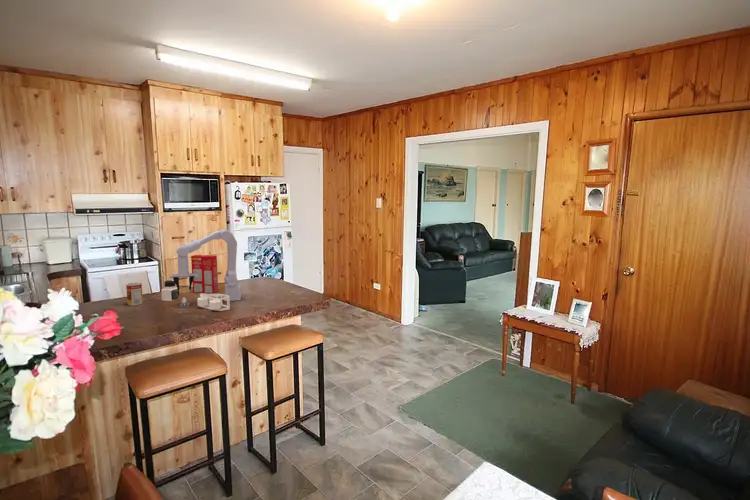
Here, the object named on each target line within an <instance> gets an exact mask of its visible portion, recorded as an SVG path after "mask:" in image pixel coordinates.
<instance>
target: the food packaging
mask: <svg viewBox="0 0 750 500" xmlns="http://www.w3.org/2000/svg"><path fill="white" fill-rule="evenodd" d="M190 260H191V273H197V277H194V279H193V282H192V293H193V294H202V293H204V294H218V292H219V281H218V279H219V278H218V277H219V276H218V256H217V254H215V255H213V254H211V255H210V254H193V255H190Z"/></svg>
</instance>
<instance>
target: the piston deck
mask: <svg viewBox="0 0 750 500" xmlns="http://www.w3.org/2000/svg"><path fill="white" fill-rule="evenodd" d="M190 304H191V302H188V300H187V297H185V296H184V297H183V296H182V298H181V303H179V306H178V307H179V309H180V308H182V309H183V308H189V307H190Z"/></svg>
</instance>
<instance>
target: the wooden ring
mask: <svg viewBox="0 0 750 500" xmlns="http://www.w3.org/2000/svg"><path fill="white" fill-rule="evenodd" d="M187 293H191V290H189V285H179V294H187Z"/></svg>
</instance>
